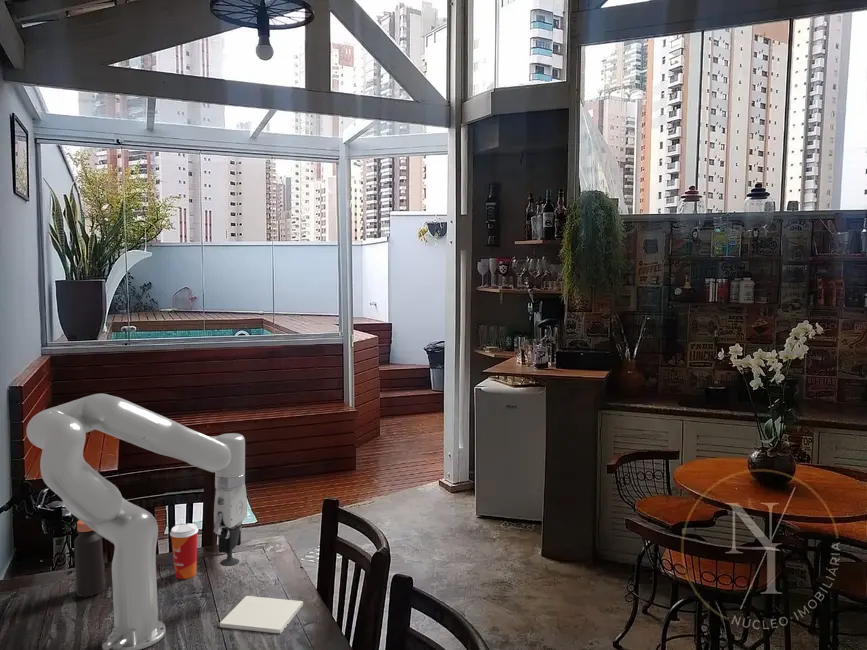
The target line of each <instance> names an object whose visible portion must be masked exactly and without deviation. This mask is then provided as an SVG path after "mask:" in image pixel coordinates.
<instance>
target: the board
mask: <svg viewBox="0 0 867 650" xmlns="http://www.w3.org/2000/svg"><path fill="white" fill-rule="evenodd" d="M303 606H304V601H302V600H294V599H293V600H292V599H283V598H274V597H272V598H271V597H262V596H253V595H245V597H243V598H242V599H241V601H240V602H239V603H238V604H236V606H235V607H234V608H232V610H231V611H230V612H229V613H228V614H227V615H226V616H225V617H224V618H223V619H222V620H221V621H220V622H219V628H224V629H225V628H226V629H236V630H242V631H243V630H244V631H255V632H263V633H271V634H279V633H280V634H282V632H283V631H284V630H285V629H284V628H286V627H287V626H288V625H289V623H290V622H291V621H292V620H293V619H294V617H295V616H296V615H297V613H298V612H299V611H300V610H301V608H302V607H303ZM287 624H288V625H287Z"/></svg>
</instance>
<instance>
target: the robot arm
mask: <svg viewBox="0 0 867 650" xmlns="http://www.w3.org/2000/svg"><path fill="white" fill-rule="evenodd" d="M25 430H26V436H27V439H28V440H29V442H30V443H31V445H32V444H33V445H34V446H35V447H37V448H39V449H41V450H42V452H41V455H40V460H39V461H40V462H39V463H40V464H39V466H40V474H41V478H42V480H43V482H44V484H45V485H46V486H47V487H48V488H49V489H50V490H51V491H52V492H54V493H55V495H57V496H58V497H59V498H60V499H61V501H62V504H63V505H64V507H65V509H66V510H67V511H68V512H69V513H70V514H72V515H73V516H74V517H75V518H77V519H78V521H79V520H81V521H82V522H83V523H85V524H86V525H87V526H88V527H90V528H91V529H92V530H94V531H95V532H96V533H98V534H99V535H100V536H102V538H104V540H107V541H108V542H110V543H111V544H113V545H114V546H113V547H114V550H113V557H112V562H111V580H112V581H111V582H112V583H111V584H112V602H113V619H114V620H113V621H114V622H113V624H114V627H113V628H112V629H111V631H112V632H110V634H109V635H108V637H107V640H106V641H105V642H103V643H102V644H101V646H102V647H101V648H102V649H103V650H142V649H146V648H148V647H149V648H150V647H151V646H153V645H155V644H157V643H159V642H160V641H161V640H162V639H163V638H164V636H165V635H166V625H165V623H164V622H162V620H159V608H158V604H159V603H158V585H157V584H158V583H157V566H156V565H157V564H156V563H157V562H156V561H157V560H156V559H157V558H156V557H157V553H156V552H157V543H158V536H159V526H158V522H157V520H156V518H155V517H154V516H153V514H152V513H151V512H149V511H148V510H146V509H145V508H143V507H140V506H138V505H137V504H134V503H132V502H130V501H128V500H127V499H126V498H124V497H123V496H122V493H121V491H120V490H119V488H118V487H117V486H116V485H115V484H113V483H112V482H111V481H109V480H108V479H107V478H105V477H104V476H103V475H101V474H100V473H99V472H98V471H97V470H95V469H94V468H93V467H92V465H90V464H89V463H88V462H86V460H85V457H84V447H85V444H86V443H85V442H86V433H89V432H93V431H97V432H98V431H99V432H101V433H104V434H106V435H108V436H111V437H114V438H117V439H119V440H122V441H124V442H126V443H130V444H132V445H134V446H137V447H139V448H142V449H145V450H147V451H150V452H153V453H155V454H158V455H162V456H165V457H166V456H167V457H170V458H173V459H177V460H179V461H183V462H184V463H187V464H189V465H191V466H192V467H193V466H194V467H195V468H199V469H202V470H205V471H207V472H210V473H214V474H215V477H214V479H215V480H214V486H215V495H214V503H213V504H214V507H213V509H214V510H213V519H214V520H213V521H214V522H213V524H214V529H213V533H215V534H216V535H217V538H218V553H222V554H227V553H230V552H231V538H229V535H230V531H229V530H230V528H232V527H234V526H235V525H237V524H238V523H240V522H241V523H242V524H243V521H244V520H245V519H247V518H248V517H247V516H248V497H247V496H248V495H247V488H246V438H245V437H244V435H242V433H241V434H240V433H232V432H231V433H222V434H220V435H215V436H208V435H206V434H204V433H201V432H199V431H196V430H194V429H191V428H190V427H187V426H185V425H183V424H181V423H179V422H177V421H175V420H172V419H170V418H168V417H166V416H164V415H161V414H159V413H156V412H155V411H152V410H149V409H147V408H145V407H143V406H141V405H138V404H136V403H133V402H131V401H129V400H127V399H124V398H122V397H119V396H116V395H115V396H114V395H110V394H107V393H95V394H90V395H87V396H83V397H81V398H77V399H75V400H71V401H69V402H66V403H62V404H59V405H57V406H53V407H50V408H47V409H46V408H45V409H44V410H42V411H40V412H38V413H36V414H35V415H34V416H32V417H31V418H30V420H29V421H28V423H27V425H26V429H25ZM223 523H224V524H225V526H224V525H222V524H223ZM242 527H243V525H242V526H241V527H240V531H239V538H238V543H237V546H241V544H242V542H241V540H242V535H241V534H242V531H241V530H242ZM222 528H225V529H226V532H225V531H224V530H222Z"/></svg>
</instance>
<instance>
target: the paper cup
mask: <svg viewBox="0 0 867 650" xmlns="http://www.w3.org/2000/svg"><path fill="white" fill-rule="evenodd" d="M198 532H199V529H198V526H197V525H196V524H195V523H182V524H178V525H174V526H173V527H172V528H171V530H170V532H169V535H170V538H171V547H172V557H173V565H174V566H173V567H174V568H173V569H174V574H175V578H176V579H177V578H178V580H187V579H190V578H191V579H192V578H194V577H195V576H196V575H197V561H198V560H197V557H198V556H197V555H198Z"/></svg>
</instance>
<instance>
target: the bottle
mask: <svg viewBox="0 0 867 650" xmlns="http://www.w3.org/2000/svg"><path fill="white" fill-rule="evenodd" d="M76 527H77V528H76V529H77V533H78V535H77V537H75V539H74V541H73V544H74V545H73V546H74V547H73V549H74V563H75V564H74V566H75V582H76V583H75V585H76V586H75V587H76V594H77V593H78V594H79V595H82V596H91V597H93V596H92V595H95V594H98V593H100V592H101V593H103V592H104V591H105V573H104V552H103V551H104V550H103V549H104V548H103V537H102V536H100V535H99V534H98V533H96V532H95V531H94V530H92V529H91V528H90V527H88V526H87V525H86V524H85V523H83V522H82V521H81V520H79V519H78V520H77V521H76ZM101 593H100V594H101ZM98 595H99V594H98ZM95 596H96V595H95Z"/></svg>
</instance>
